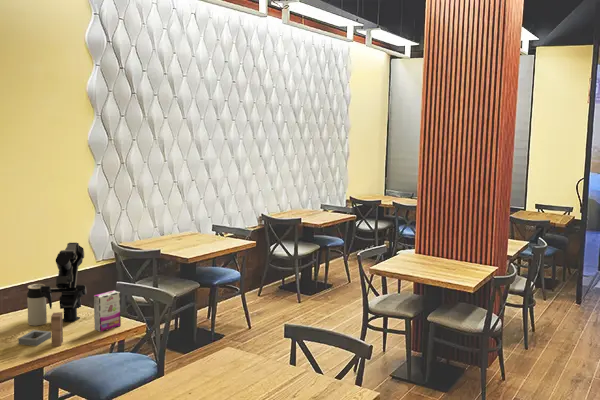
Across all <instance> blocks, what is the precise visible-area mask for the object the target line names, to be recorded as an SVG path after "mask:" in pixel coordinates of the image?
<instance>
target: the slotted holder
mask: <svg viewBox="0 0 600 400" xmlns="http://www.w3.org/2000/svg"><path fill="white" fill-rule="evenodd" d="M49 339H52V331H47V330H39V329H38V330H36V329H35V330H31V331H29V332H28V333H26V334H24V335H21V336H20V337H18V340H17V342H18V345H22V346H23V345H24V346H32V347H38V346H40V345H41V344H43V343H45V342H46V341H47V340H49Z"/></svg>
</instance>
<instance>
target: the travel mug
mask: <svg viewBox="0 0 600 400" xmlns="http://www.w3.org/2000/svg"><path fill="white" fill-rule="evenodd" d="M41 286H46V284H44V283H34V284H33V283H32V284H30V285H27V288H28V291H27V294H26V295H27V296H26V297H27V298H26V299H27V324H28V325H29V326H32V327H39V326H42V325H45V324H46V323H47V321H48V319H47V316H48V315H47V298H45V297H44V296H42V295H41V293H40V287H41Z"/></svg>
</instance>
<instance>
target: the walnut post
mask: <svg viewBox="0 0 600 400" xmlns="http://www.w3.org/2000/svg"><path fill="white" fill-rule="evenodd" d="M62 319H63V312H53V313H52V314H51V316H50V321H51V324H50V325H51V326H50V327H51V331H50V332H51V347H61V346H62V344H63V343H64V335H63V334H64V331H63V330H64V329H63V326H64V325H63V322H64V321H62Z"/></svg>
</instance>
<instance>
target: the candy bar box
mask: <svg viewBox="0 0 600 400" xmlns="http://www.w3.org/2000/svg"><path fill="white" fill-rule="evenodd" d="M93 314H94V315H93V317H94V318H93V319H94V322H93V323H94V330H95V331H97V332H100V333H101V332H104V331H108V330H111V329H115V328H118V327H121V325H122V322H121V319H122V318H121V292H120V291H117V290H110V291H107V292H102V293H99V294H94V295H93Z"/></svg>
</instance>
